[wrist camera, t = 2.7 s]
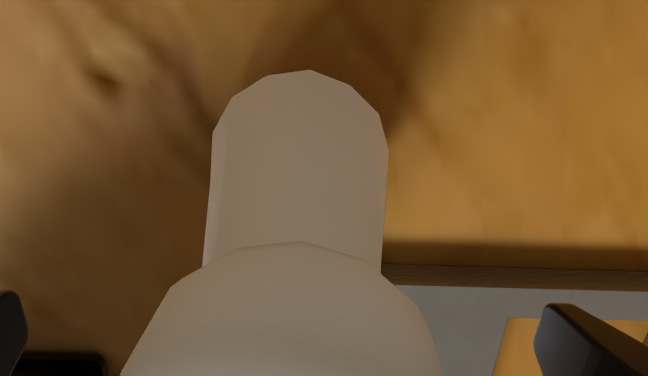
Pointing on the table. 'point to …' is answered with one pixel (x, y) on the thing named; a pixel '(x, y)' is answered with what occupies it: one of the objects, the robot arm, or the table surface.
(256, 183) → the salt shaker
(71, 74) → the table surface
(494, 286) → the rail plate
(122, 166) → the table surface
